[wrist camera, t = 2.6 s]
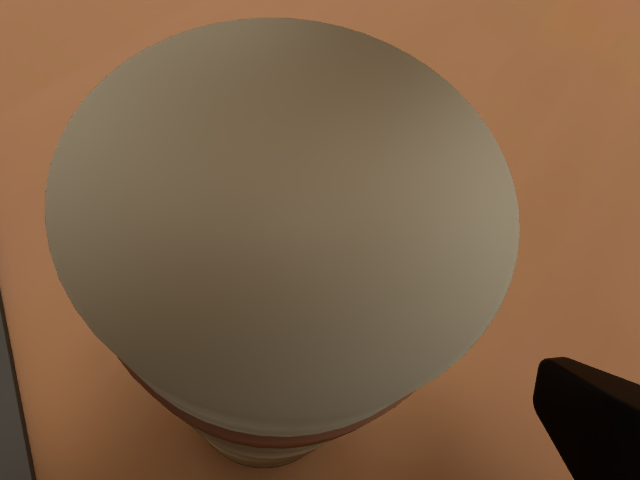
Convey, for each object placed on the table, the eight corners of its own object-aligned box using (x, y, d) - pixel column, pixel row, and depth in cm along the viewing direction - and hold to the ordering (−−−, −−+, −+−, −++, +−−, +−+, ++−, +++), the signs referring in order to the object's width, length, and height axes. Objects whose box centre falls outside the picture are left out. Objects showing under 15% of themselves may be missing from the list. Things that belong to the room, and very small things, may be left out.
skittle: (357, 349, 18) (548, 96, 6) (309, 495, 15) (475, 526, 4) (231, 299, 18) (191, -31, 6) (164, 434, 15) (-90, 291, 4)
